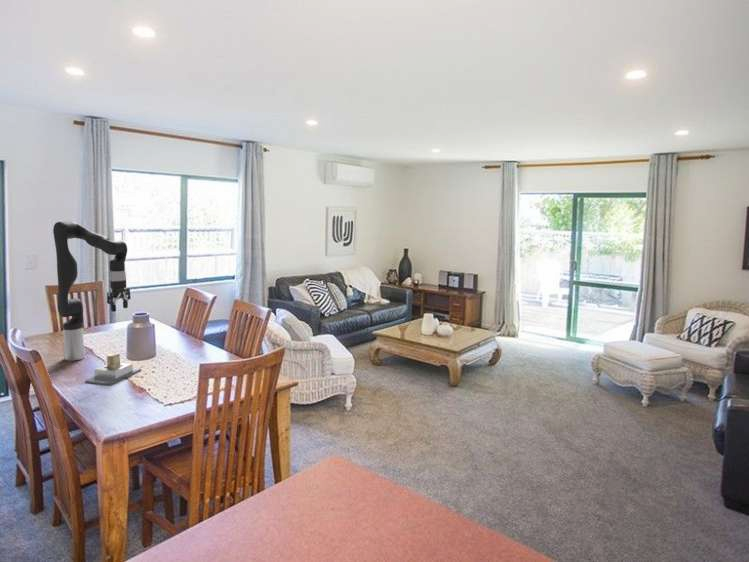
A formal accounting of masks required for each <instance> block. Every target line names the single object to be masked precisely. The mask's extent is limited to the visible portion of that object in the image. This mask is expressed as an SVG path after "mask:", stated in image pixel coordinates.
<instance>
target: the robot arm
mask: <svg viewBox="0 0 749 562" xmlns="http://www.w3.org/2000/svg"><path fill="white" fill-rule="evenodd" d="M52 228H53V231H52V233H53V239H54V247H55V253H56V271H57V272H56V273H57V286H58V287H57V288H58V289H57V312H58V314H59V317H61V318H67V317H71V318H70V319H68V320H67V321H66V322H64V323H63V324H62V334H63V342H62V352H63V353H62V354H63V355H62V356H63V360H65V361H69V362H71V361H72V362H73V361H79V360H82V359H85V356H86V355H85V344H84V343H85V342H84V341H85V339H84V328H83V324H84V306H83V305H84V304H83V302H82V300H81V299H80V298H77V297H76V298H70V299H69V293H70V290H71V288H72V286H73V285H74V283H75V282H76V280H77V279H78V263H77V260H76V259H75V257H74V255H73V254H72V253H71V251H70V249H69V243H68V242H69V240H70V239H78V240H79V239H80V240H83V241H85V242H86V243H87V244H88V245H89V246H91V247H94V248H96V249H99V250H101V251H102V252H104V253H105V254H107V255H110V256H114V257H113V258H112V259H110V260H109V264H108V265H109V287H110V289H111V291H110V292H109V291H107V292H106V304H108V305H110V310H111V312H114V313H115V312H117V304H116V303H117V302H118V301H119V300H120V299H122V307H123V309H128V307H129V304H128V303H129V300H131V289H130V288H129V287H127V273H126V266H125V265H126V264H125V263H126V258H127V254H128V246H127V243H126V242H125V241H123V240H110V238H109V237H107V236H104V235H102V234H99V233H97V232H94V231H91V230H89V229H87V228H86V227H84V226H82V225H80V224H79V223H77V222H75V221H69V220H68V221H66V220H65V221H58V222H55V223H54V225H53V227H52Z"/></svg>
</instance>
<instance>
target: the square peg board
mask: <svg viewBox="0 0 749 562" xmlns="http://www.w3.org/2000/svg"><path fill="white" fill-rule="evenodd" d="M141 371H142V368H139V367H134V366H133V363H127V362H125V363H124V362H120V367H119V368H116V369H108V368H107V363H105V364H103V365H101V366H99V367H96V368H93V374H94V376H91V377H90V378H87V379H85V380H84V383H87V384H97V385H104V386H112V385H114V384H116V383H118V382H120V381H122V380H124V379H126V378H128V377H131V376H132V375H134V374H137V373H140V372H141ZM130 375H131V376H130Z"/></svg>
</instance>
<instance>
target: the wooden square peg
mask: <svg viewBox="0 0 749 562" xmlns="http://www.w3.org/2000/svg"><path fill="white" fill-rule="evenodd" d="M120 363H121V356H120V353H111V354H107V355H106V364H107V368H108V369H116V368H119V367H120Z"/></svg>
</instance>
